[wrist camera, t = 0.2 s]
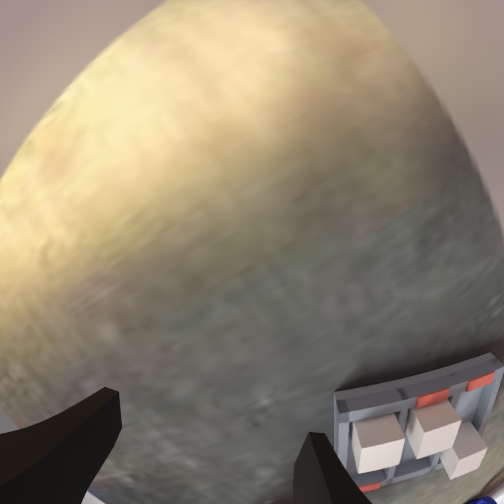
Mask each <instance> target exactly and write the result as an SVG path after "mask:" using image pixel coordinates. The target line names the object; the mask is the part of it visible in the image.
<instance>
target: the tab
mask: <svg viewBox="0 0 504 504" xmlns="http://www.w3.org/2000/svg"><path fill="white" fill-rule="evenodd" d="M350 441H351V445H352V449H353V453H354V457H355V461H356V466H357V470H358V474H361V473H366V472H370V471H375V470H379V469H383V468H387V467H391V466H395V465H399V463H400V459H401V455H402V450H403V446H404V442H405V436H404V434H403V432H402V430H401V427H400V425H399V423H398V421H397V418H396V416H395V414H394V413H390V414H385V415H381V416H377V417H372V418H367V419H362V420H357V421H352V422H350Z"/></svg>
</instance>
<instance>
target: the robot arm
mask: <svg viewBox="0 0 504 504" xmlns="http://www.w3.org/2000/svg"><path fill="white" fill-rule="evenodd" d="M121 429H122V421H121V411H120V399H119V392H118V391H116V390H113V389H110V388H107V387H104V388H102V389H100V390H99V391H97V392H95V393H94V394H92V395H91V396H89V397H87V398H86V399H84V400H82V401H81V402H79V403H77V404H75V405H74V406H72V407H70V408H68V409H66V410H65V411H63V412H61V413H59V414H57V415H55V416H53V417H51V418H49V419H46V420H44V421H42V422H40V423H37V424H35V425H32V426H29V427H26V428H23V429H19V430H15V431H11V432H7V433H3V434H0V504H81V503H82V500H83V498H84V496H85V494H86V492H87V490H88V488H89V486H90V484H91V483H92V481H93V479H94V478H95V476H96V474H97V473H98V471H99V470H100V468H101V466H102V465H103V463H104V462H105V460H106V458H107V457H108V455H109V454H110V452H111V450H112V449H113V447H114V445H115V442H116V440H117V438H118V436H119V433H120V431H121ZM293 488H294V501H295V504H372V503H371V502H370V501H369V500H368V499H367V497H366V496H365V495H364V494H363V493H362V491H361V490H360V489H359V487H358V486H357V485H356V483H355V482H354V481H353V479H352V478H351V476H350V475H349V473H348V472H347V470H346V469H345V467H344V466H343V464H342V462H341V461H340V459H339V457H338V456H337V454H336V452H335V451H334V449H333V447H332V445H331V443H330V442H329V440H328V438H327V436H326V435H325V433H314V432H309V433H308V435H307V437H306V440H305V442H304V444H303V446H302V449H301V451H300V453H299V455H298V458H297V460H296V462H295V465H294V483H293Z"/></svg>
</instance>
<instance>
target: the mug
mask: <svg viewBox="0 0 504 504" xmlns="http://www.w3.org/2000/svg"><path fill="white" fill-rule="evenodd" d="M467 504H497V503H496V502H495V500H494V499H492V498H491V497H488V496H486V497H483V498H481V499H480V500H475V501H472V502H470V503H467Z"/></svg>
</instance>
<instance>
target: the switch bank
mask: <svg viewBox="0 0 504 504" xmlns="http://www.w3.org/2000/svg"><path fill="white" fill-rule="evenodd" d="M503 372H504V365H503V364H502V363H501V362H500V361H499V360H498V359H497V358H496V357H495V356H494V355H493V354H492V353H490V352H489V353H486V354H483V355H480V356H478V357H475V358H472V359H469V360H466V361H463V362H460V363H456V364H453V365H450V366H447V367H443V368H440V369H436V370H433V371H429V372H426V373H422V374H418V375H414V376H410V377H406V378H402V379H398V380H394V381H389V382H385V383H380V384H375V385H370V386H365V387H360V388H355V389H349V390H343V391H337V392H334V451H335V452H336V454H337V456H338V457H339V459H340V461H341V462H342V464H343V466H344V467H345V469H346V470H347V472H348V473H349V475H350V476H351V478H352V479H353V481H354V482H355V483H356V485H357V486H358V487H359V489H360V490H361V491H362V492H366V491H370V490H375V489H379V487H380V486H385V485H389V484H392V483H396V482H400V481H403V480H407V479H410V478H413V477H417V476H420V475H423V474H426V473H429V472H432V471H435V470H438V469H441V468H443V467H444V466H443V464H442V462H441V460H440V455H441V452H442V451H441V452H438V453H435V454H432V455H429V456H426V457H423V458H419V459H416V456H415V454H414V452H413V449H412V447H411V445H410V443H409V440H408V438H407V436H406V433H405V431H404V429H405V424H406V419H407V413H408V409H410V408H413V407H416V408H420V407H424V406H427V405H430V404H434V403H437V402H440V401H443V400H446V399H448V401H449V402H450V404H451V405H452V407H453V408H454V409H455V411H456V412H457V414H458V415H459V417H460V418H461V423H460V424H462V423H465V422H468V421H470V422H471V423H472V424H473V426H474V427H475V429H476V430H477V432H478V433H479V435H480V436H481V437H482V434H483V432H484V429H485V427H486V424H487V421H488V419H489V416H490V413H491V411H492V408H493V405H494V402H495V399H496V396H497V393H498V389H499V386H500V383H501V379H502V376H503ZM390 413H394V414H395V416H396V418H397V421H398V423H399V425H400V427H401V430H402V432H403V434H404V436H405V442H404V446H403V450H402V455H401V459H400V463H399V465H395V466H391V467H387V468H383V469H379V470H375V471H370V472H366V473H361V474H358V470H357V466H356V461H355V457H354V453H353V449H352V445H351V441H350V422H352V421H357V420H362V419H367V418H372V417H377V416H381V415H385V414H390Z"/></svg>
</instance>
